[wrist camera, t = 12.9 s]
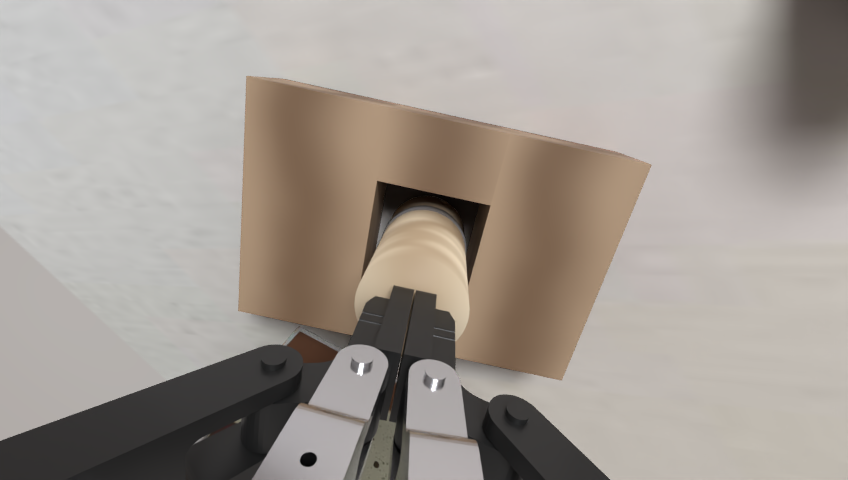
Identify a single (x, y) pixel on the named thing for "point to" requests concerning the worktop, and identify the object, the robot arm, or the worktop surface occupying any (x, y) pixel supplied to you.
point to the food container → (379, 453)
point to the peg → (421, 259)
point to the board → (437, 173)
